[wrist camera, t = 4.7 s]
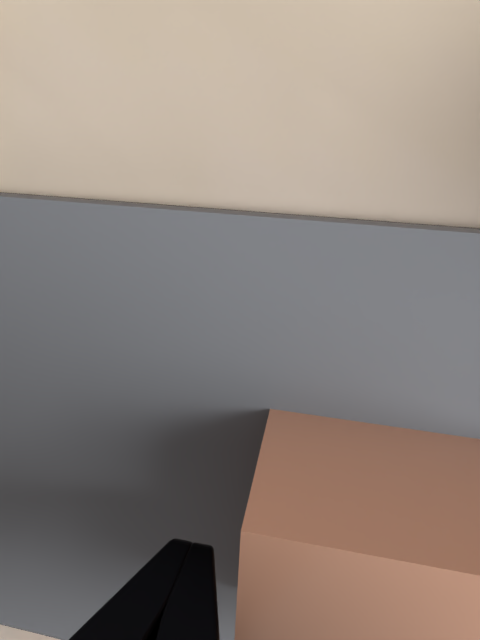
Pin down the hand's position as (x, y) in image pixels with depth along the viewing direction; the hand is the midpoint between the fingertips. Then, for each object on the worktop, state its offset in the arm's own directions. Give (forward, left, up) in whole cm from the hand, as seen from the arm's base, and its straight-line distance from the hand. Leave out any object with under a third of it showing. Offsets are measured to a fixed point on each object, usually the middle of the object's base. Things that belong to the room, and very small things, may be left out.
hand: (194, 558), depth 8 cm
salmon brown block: (+4, 0, -2) cm, 4 cm away
